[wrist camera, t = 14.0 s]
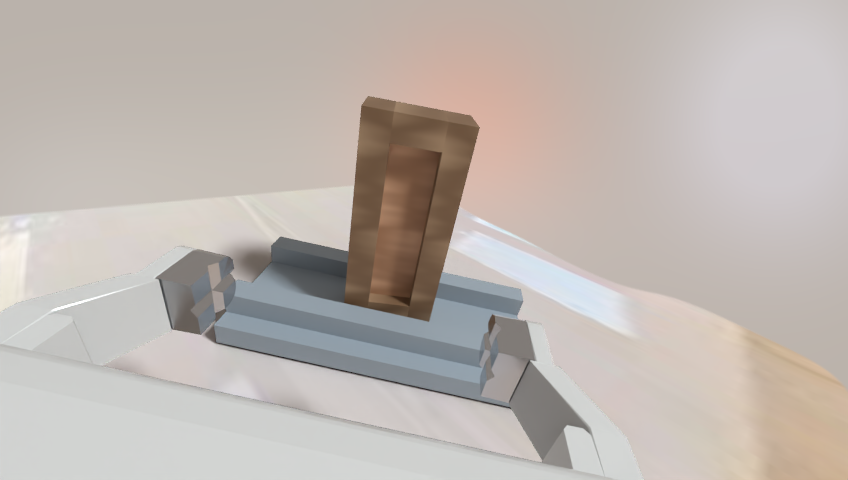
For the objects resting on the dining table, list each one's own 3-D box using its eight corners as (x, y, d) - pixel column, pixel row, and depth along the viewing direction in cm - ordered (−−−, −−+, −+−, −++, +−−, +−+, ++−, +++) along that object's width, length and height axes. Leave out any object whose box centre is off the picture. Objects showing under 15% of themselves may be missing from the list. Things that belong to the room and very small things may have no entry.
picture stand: (216, 342, 22) (210, 306, 21) (287, 258, 31) (287, 229, 29) (523, 410, 22) (540, 379, 20) (508, 307, 31) (518, 280, 29)
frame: (343, 316, 24) (361, 105, 17) (349, 289, 26) (368, 96, 19) (428, 326, 25) (479, 127, 18) (426, 298, 27) (470, 115, 20)
